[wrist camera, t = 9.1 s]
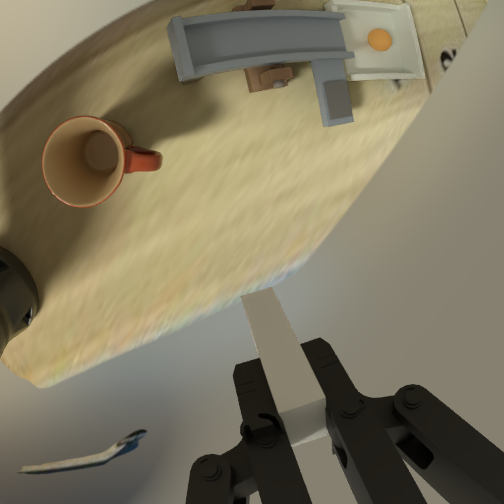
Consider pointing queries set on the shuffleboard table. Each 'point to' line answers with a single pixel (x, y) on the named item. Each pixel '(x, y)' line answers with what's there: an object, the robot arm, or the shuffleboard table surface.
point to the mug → (92, 160)
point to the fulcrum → (261, 75)
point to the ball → (379, 39)
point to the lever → (268, 49)
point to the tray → (368, 59)
